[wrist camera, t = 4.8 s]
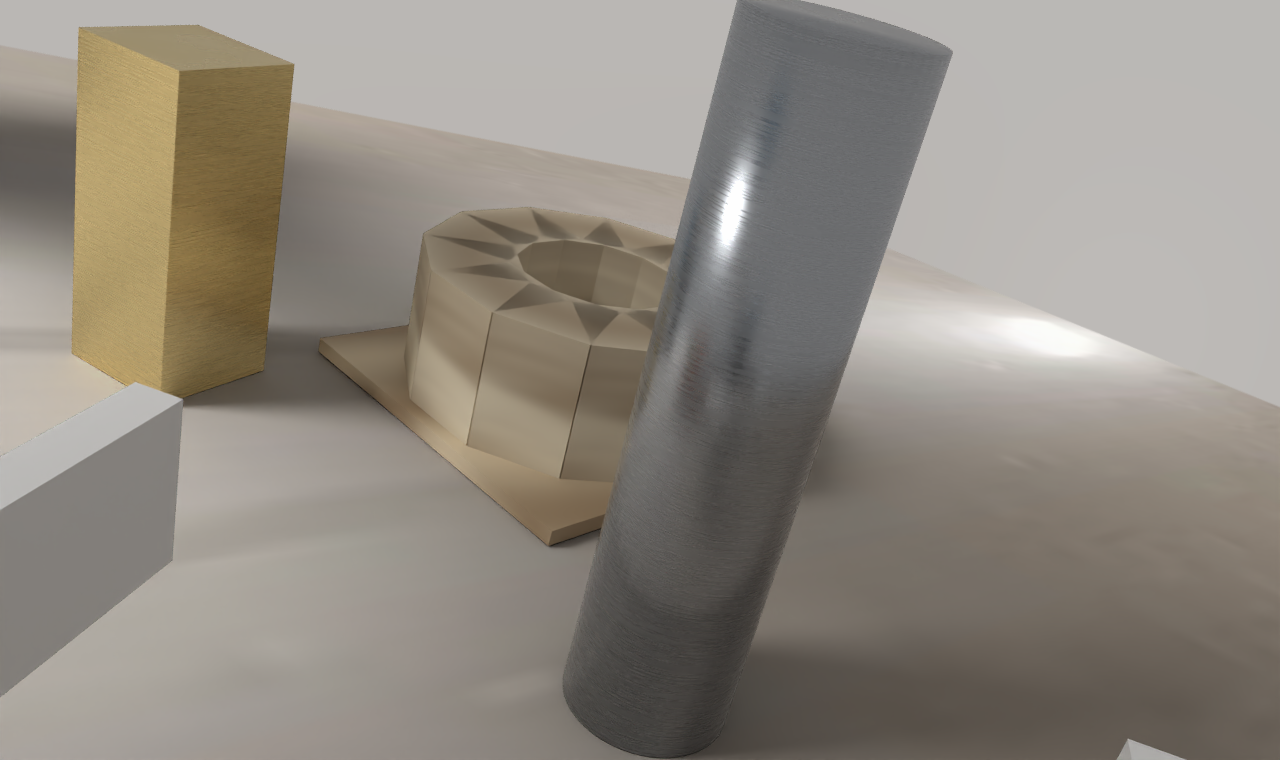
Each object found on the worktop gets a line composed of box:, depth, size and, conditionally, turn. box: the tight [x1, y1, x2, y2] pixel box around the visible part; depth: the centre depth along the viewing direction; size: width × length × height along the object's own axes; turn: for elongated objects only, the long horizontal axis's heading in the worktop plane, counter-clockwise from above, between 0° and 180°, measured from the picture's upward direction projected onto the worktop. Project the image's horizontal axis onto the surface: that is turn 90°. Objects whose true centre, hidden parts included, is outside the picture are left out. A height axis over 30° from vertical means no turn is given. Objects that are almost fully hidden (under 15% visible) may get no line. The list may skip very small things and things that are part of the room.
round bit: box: [563, 0, 953, 758], centre depth 24 cm, size 4×4×16 cm
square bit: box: [72, 25, 294, 398], centre depth 35 cm, size 4×4×10 cm
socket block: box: [319, 207, 675, 546], centre depth 39 cm, size 12×12×5 cm
